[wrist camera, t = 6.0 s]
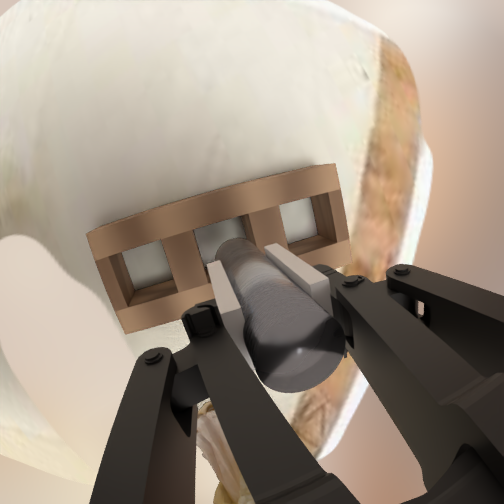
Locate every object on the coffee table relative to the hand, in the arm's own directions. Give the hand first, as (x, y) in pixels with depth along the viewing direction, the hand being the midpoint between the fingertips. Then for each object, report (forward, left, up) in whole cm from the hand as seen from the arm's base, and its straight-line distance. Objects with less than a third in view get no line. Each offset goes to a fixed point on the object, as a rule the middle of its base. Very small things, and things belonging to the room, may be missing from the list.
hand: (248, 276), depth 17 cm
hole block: (0, 0, -11) cm, 11 cm away
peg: (0, 0, -4) cm, 4 cm away
